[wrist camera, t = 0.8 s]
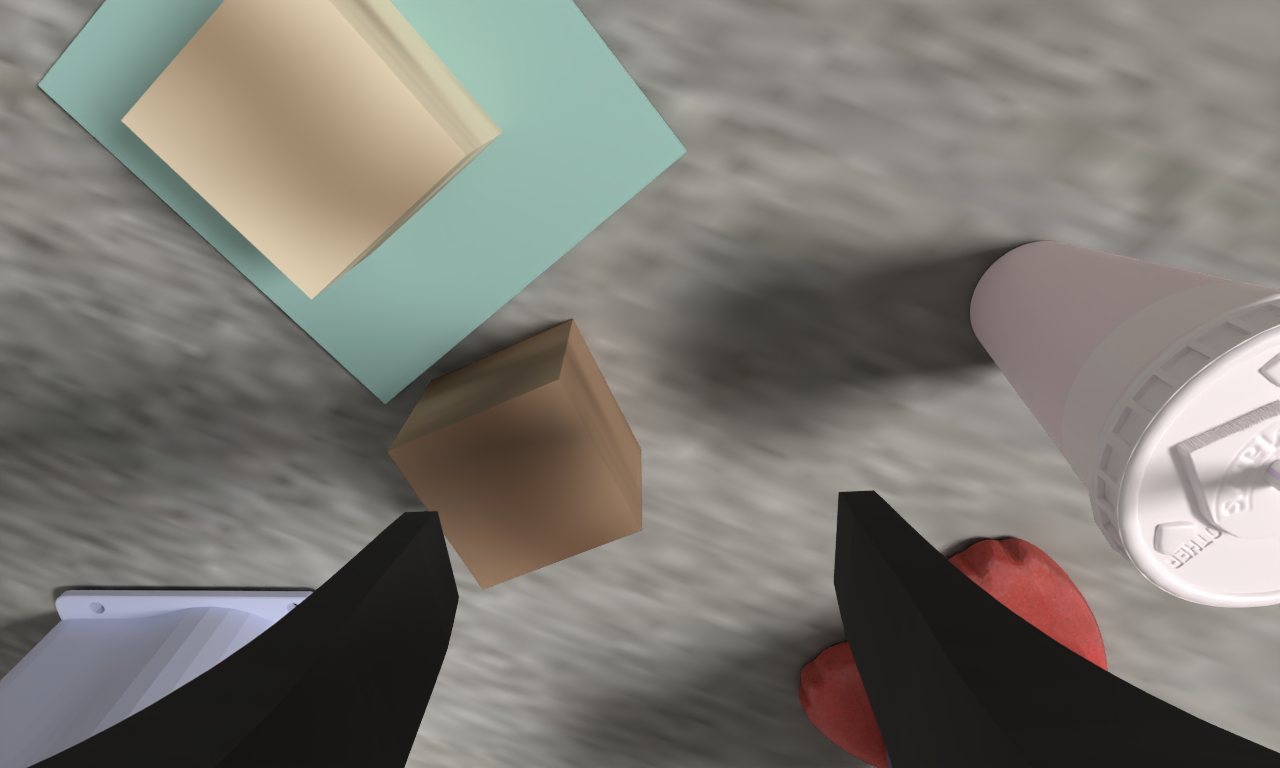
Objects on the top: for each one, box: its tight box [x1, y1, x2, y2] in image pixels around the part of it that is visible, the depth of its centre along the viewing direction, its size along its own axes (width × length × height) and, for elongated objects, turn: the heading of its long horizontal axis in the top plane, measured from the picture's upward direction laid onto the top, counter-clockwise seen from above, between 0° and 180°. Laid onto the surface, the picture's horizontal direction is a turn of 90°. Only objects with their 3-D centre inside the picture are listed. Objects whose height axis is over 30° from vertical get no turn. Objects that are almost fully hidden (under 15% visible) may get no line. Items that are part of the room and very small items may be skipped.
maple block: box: [121, 0, 503, 300], centre depth 17 cm, size 5×5×4 cm
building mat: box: [38, 0, 687, 404], centre depth 19 cm, size 12×12×1 cm
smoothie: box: [970, 241, 1280, 608], centre depth 15 cm, size 6×6×14 cm
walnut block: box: [387, 319, 642, 590], centre depth 21 cm, size 5×5×4 cm
